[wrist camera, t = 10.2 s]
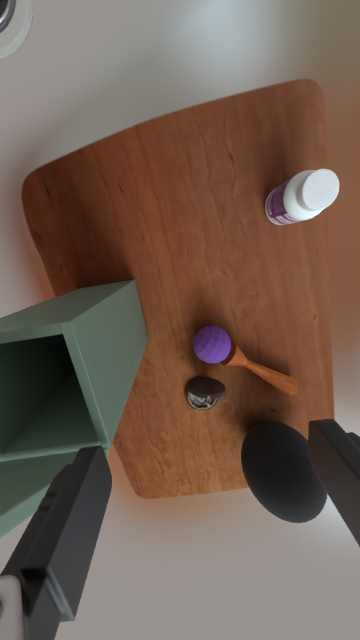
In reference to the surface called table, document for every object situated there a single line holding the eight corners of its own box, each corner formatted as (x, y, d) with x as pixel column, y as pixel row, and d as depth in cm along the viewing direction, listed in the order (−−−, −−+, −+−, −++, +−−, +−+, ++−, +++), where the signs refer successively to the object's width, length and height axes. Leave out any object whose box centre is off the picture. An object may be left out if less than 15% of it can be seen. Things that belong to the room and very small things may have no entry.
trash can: (77, 288, 37) (-67, 343, 16) (135, 279, 37) (70, 321, 15) (94, 348, 41) (-5, 462, 19) (148, 339, 40) (110, 447, 18)
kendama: (285, 410, 40) (186, 360, 35) (274, 385, 45) (186, 339, 40) (311, 389, 37) (208, 332, 33) (296, 365, 42) (205, 313, 38)
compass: (184, 406, 44) (185, 436, 37) (187, 369, 42) (189, 393, 35) (226, 409, 44) (234, 439, 37) (231, 372, 42) (242, 396, 35)
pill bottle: (265, 229, 35) (296, 221, 26) (261, 190, 33) (293, 167, 24) (301, 221, 34) (346, 210, 25) (299, 181, 33) (346, 155, 24)
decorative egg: (237, 403, 44) (266, 478, 29) (302, 407, 44) (361, 483, 30) (229, 454, 47) (250, 543, 33) (289, 458, 48) (336, 547, 33)
